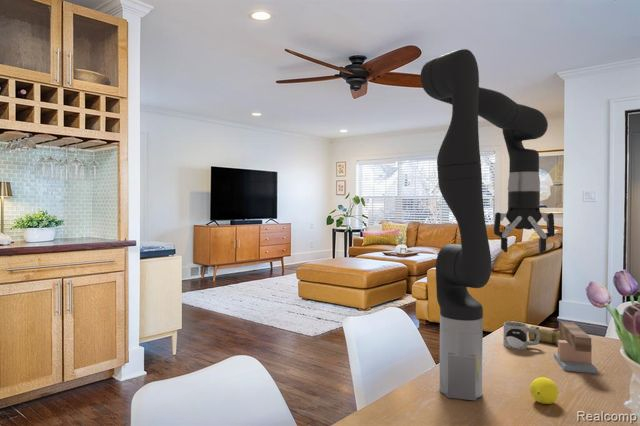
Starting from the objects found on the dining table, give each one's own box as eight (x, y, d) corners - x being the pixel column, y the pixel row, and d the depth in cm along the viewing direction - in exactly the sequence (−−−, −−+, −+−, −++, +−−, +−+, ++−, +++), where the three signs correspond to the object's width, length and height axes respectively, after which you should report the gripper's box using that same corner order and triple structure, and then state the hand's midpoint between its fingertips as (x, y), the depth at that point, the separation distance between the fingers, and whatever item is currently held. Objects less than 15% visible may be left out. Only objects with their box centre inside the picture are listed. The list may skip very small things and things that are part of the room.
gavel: (551, 319, 157) (583, 325, 150) (551, 333, 157) (583, 339, 150) (528, 326, 142) (562, 333, 135) (527, 341, 142) (562, 348, 135)
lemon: (535, 397, 100) (537, 372, 101) (562, 404, 96) (563, 379, 97) (523, 402, 95) (525, 376, 96) (551, 410, 91) (552, 383, 92)
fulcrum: (596, 373, 113) (597, 349, 113) (564, 370, 115) (564, 347, 115) (583, 359, 124) (583, 337, 124) (553, 356, 126) (554, 335, 126)
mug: (504, 348, 133) (504, 326, 133) (502, 342, 140) (502, 321, 140) (541, 351, 131) (541, 329, 130) (537, 345, 137) (537, 323, 137)
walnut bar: (591, 352, 111) (591, 338, 111) (575, 350, 112) (575, 336, 112) (573, 334, 127) (573, 322, 127) (559, 333, 128) (559, 321, 128)
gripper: (496, 189, 114) (495, 253, 115) (557, 189, 111) (557, 255, 111) (492, 191, 122) (492, 250, 122) (550, 190, 118) (549, 252, 118)
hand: (523, 252), depth 116 cm, fingers open, 8 cm apart
